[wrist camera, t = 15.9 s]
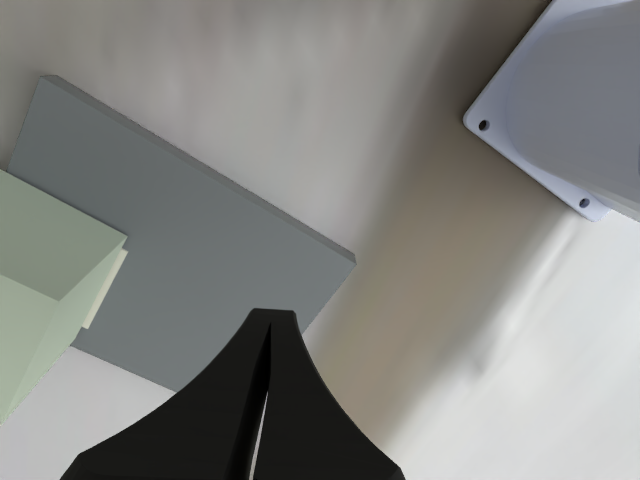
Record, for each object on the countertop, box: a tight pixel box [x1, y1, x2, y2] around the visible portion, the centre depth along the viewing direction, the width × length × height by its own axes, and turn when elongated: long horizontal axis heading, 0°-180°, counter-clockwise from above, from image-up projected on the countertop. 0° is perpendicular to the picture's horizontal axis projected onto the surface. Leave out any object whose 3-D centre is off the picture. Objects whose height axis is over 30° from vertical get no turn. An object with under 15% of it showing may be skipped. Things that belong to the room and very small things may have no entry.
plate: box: [6, 76, 357, 392], centre depth 21 cm, size 16×13×1 cm
